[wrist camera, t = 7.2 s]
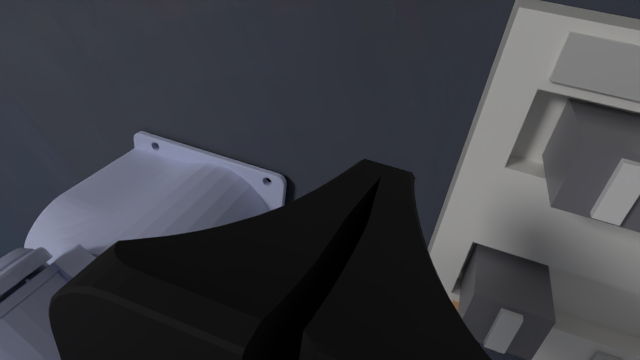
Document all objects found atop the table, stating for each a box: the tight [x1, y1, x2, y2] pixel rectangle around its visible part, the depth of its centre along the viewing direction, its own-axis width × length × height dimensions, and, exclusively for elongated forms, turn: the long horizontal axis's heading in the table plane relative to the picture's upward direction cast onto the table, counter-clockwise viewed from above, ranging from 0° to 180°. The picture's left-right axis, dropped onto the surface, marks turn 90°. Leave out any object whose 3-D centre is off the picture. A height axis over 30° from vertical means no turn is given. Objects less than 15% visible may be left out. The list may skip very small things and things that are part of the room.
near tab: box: [542, 99, 640, 233], centre depth 15 cm, size 3×2×4 cm
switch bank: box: [428, 0, 640, 360], centre depth 18 cm, size 13×15×3 cm
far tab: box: [458, 243, 556, 360], centre depth 19 cm, size 3×2×4 cm
